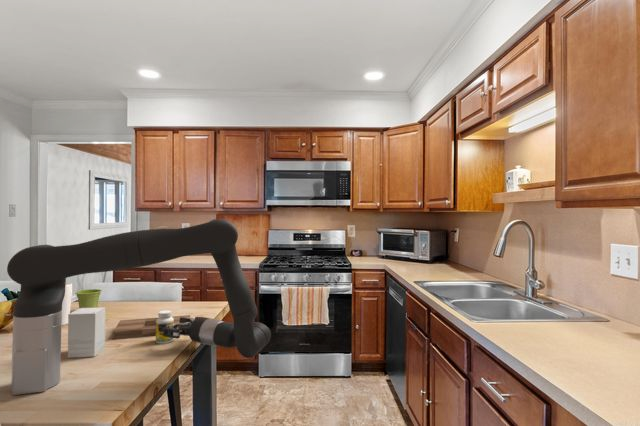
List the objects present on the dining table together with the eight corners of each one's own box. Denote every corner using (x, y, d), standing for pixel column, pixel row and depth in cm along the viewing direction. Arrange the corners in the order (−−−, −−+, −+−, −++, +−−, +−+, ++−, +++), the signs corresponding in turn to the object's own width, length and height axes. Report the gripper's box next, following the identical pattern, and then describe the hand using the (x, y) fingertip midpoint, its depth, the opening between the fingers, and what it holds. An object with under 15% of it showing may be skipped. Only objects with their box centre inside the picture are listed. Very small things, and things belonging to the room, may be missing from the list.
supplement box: (105, 348, 112) (106, 306, 112) (94, 357, 105) (95, 313, 105) (79, 349, 111) (80, 307, 111) (66, 358, 104) (67, 313, 104)
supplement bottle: (171, 337, 122) (172, 308, 123) (175, 342, 118) (175, 312, 118) (154, 340, 120) (154, 311, 120) (157, 345, 115) (157, 314, 115)
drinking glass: (45, 328, 131) (46, 286, 131) (54, 322, 137) (55, 282, 138) (67, 326, 133) (68, 285, 133) (74, 321, 139) (75, 282, 139)
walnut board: (190, 332, 128) (190, 325, 128) (112, 339, 120) (113, 331, 120) (189, 321, 141) (190, 315, 141) (120, 327, 133) (120, 320, 133)
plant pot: (76, 316, 147) (76, 294, 147) (73, 311, 154) (74, 290, 154) (103, 312, 153) (103, 291, 153) (99, 308, 160) (99, 288, 160)
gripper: (224, 313, 118) (186, 307, 124) (192, 324, 105) (151, 317, 111) (224, 336, 117) (186, 329, 124) (191, 351, 104) (151, 342, 111)
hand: (170, 323), depth 118 cm, fingers open, 8 cm apart
